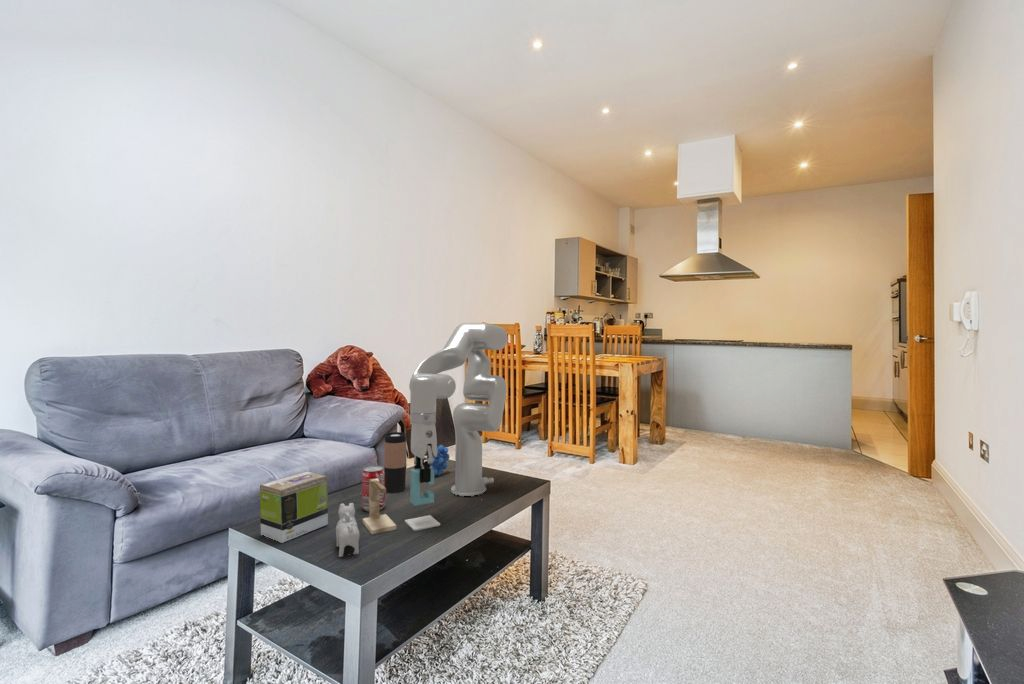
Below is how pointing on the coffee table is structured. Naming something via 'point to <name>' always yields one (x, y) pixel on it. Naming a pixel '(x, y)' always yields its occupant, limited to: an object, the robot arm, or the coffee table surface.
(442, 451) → the grapes
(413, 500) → the c link
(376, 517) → the stand
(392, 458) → the travel mug
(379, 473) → the soda can
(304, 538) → the coffee table surface
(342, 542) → the dog figurine
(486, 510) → the coffee table surface
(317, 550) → the coffee table surface
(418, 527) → the felt mat
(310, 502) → the tea box
